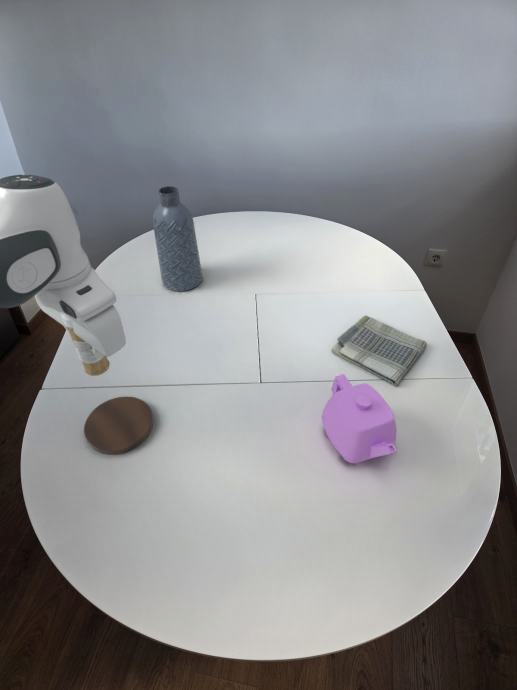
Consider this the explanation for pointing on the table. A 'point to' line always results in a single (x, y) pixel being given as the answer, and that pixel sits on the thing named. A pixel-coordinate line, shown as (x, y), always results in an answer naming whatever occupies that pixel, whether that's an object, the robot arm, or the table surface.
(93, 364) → the sprinkles bottle
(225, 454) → the table surface
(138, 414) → the disc
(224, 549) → the table surface
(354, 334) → the dish towel
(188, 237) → the vase
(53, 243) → the robot arm
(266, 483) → the table surface
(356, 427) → the teapot
